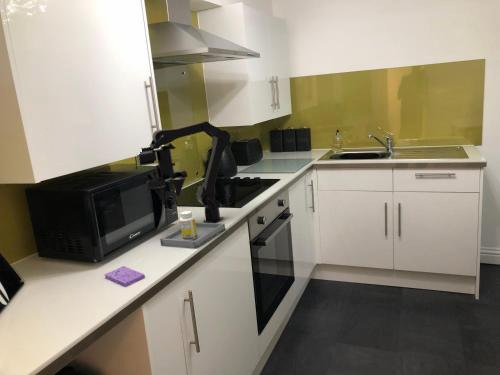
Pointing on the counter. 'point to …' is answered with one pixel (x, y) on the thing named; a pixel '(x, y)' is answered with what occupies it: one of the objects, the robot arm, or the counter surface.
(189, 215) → the supplement bottle
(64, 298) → the counter surface
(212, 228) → the tray
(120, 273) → the sponges
